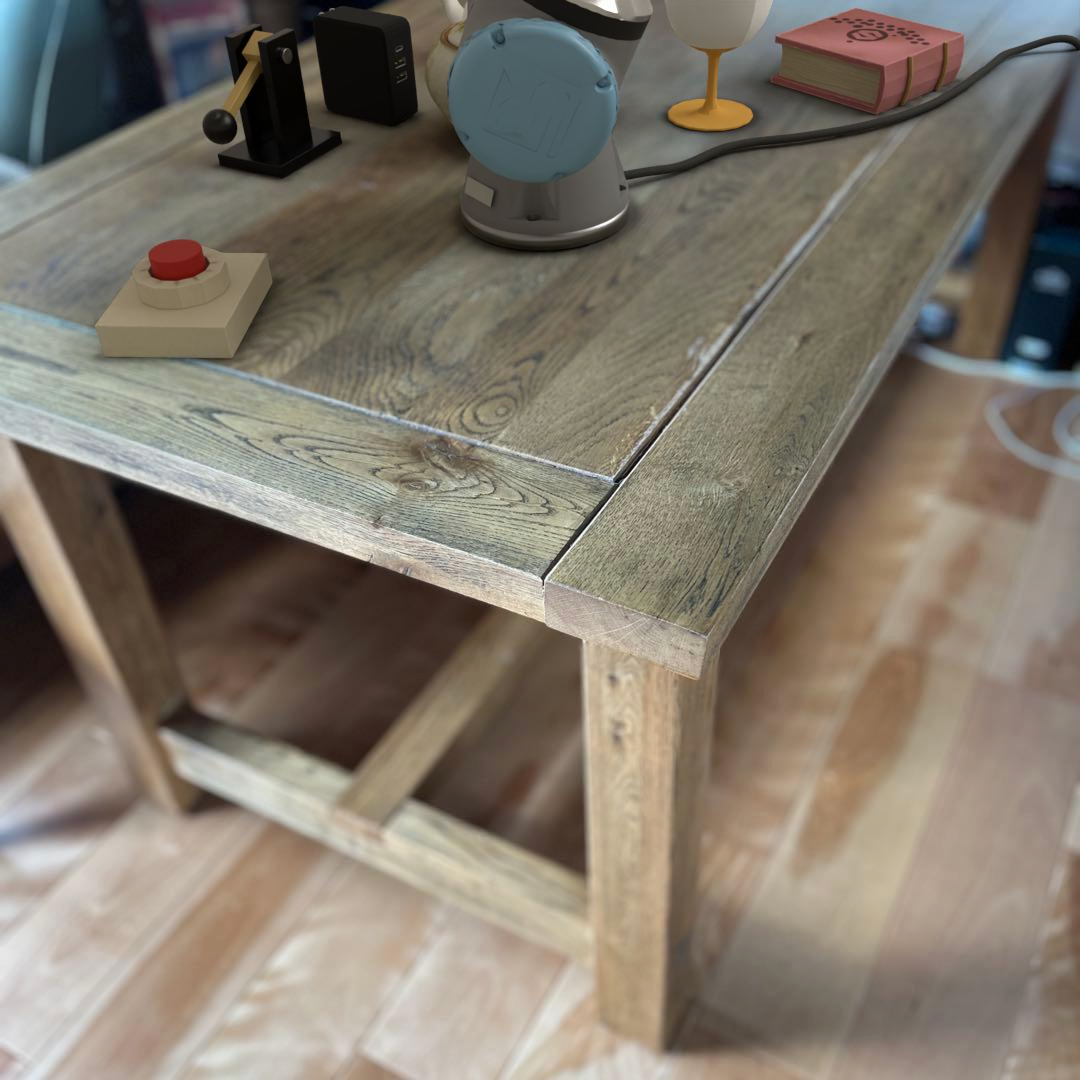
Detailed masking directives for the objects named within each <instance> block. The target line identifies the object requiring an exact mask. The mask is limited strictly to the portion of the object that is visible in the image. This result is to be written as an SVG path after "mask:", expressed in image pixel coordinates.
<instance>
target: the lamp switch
mask: <svg viewBox="0 0 1080 1080" xmlns="http://www.w3.org/2000/svg"><path fill="white" fill-rule="evenodd" d="M254 31H261V32H264V30H263V25H262V24H260V23H252V24H250V25H247V26H245V27H243V28H241V29H238V30H236V31H234V32H231V33H228V34H227V35H224V42H225V46H226V51H227V56H228V60H229V65H230V71H231V75H232V79H233V81H232V82H233V84H234V86H235V84H236V82H237V81H238V79H239V77H240V75H241V74H242V72H243V70H244V69H245V67H246V65H247V63H248V62H247V60H246V59H245V57H244V56H243V54H242V52H243V50H244V48H245V47H246V45H247V43H248V41H249V40H250V38H251V36H252V35H253V33H254ZM297 43H298V42H297V37H296V30H295V29H294V28H284V29H282V30H279V31H278V32H275V33H273V35H271V36H269V37H266V38H264V39H262V40H260V41H258V47H259V53H260V58H261V63H262V69H263V73H260V75H259V76H258V78H257V80H256V82H255V83H254V85H253V87H252V89H251V90H250V92H249V94H248V95H247V97H246V99H245V101H244V102H243V104H242V106H241V108H240V109H239V115H240V119H241V124H242V129H243V134H244V137H245V138H244V139H243V140H241V141H239V142H237V143H235V144H233V145H231V146H230V147H227V148H226V149H224V150H221V151H220V152H218V153H217V159H218V163H219V166H221V167H224V168H225V167H226V168H230V169H234V170H239V171H244V172H249V173H252V174H253V173H254V174H258V175H263V176H269V177H273V178H278V179H285V178H286V177H288V176H290V175H291V174H293V173H295V172H296V171H298V170H299V169H301V168H302V167H304V166H307V165H308V164H310V163H311V162H312V161H314V160H316V159H318V158H320V157H321V156H323V155H325V154H326V153H329V151H331V150H334V149H335V148H337V147H338V146H340V145H341V144H343V140H342V133H341V131H339V130H333V129H327V128H322V127H316V126H311V122H310V116H309V109H308V104H307V97H306V91H305V85H304V79H303V73H302V66H301V62H300V55H299V50H298V49H299V48H298V44H297ZM234 86H233V87H234Z"/></svg>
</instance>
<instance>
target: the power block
mask: <svg viewBox="0 0 1080 1080" xmlns="http://www.w3.org/2000/svg"><path fill="white" fill-rule="evenodd" d="M201 247H202V251H203V255H204V259H205V263H206V270H205V271H204V272H202V273H200V274H198V275H196V276H194V277H191V278H187V279H183V280H178V281H161V280H158V279H156V278H155V277H154V275H153V271H152V268H151V264H150V261H149V257H148V253H147V254H146V256H145V257H144V258H143V259H140V261H139V262H138V263H137V264H136V266H135V267H134V269H133V270H132V271H131V275H130V277H129V279H127V281H126V282H125V283H124V285H123V286H122V288H121V289H120V291H119V292H118V293H117V294H116V296H115V297H114V299H113V300H112V301H111V303H110V304H109V305H108V307H107V309H105V311H104V312H103V314H102V315H101V316H100V318H99V319H98V321H97V322H96V323H95V325H94V329H95V332H96V335H97V339H98V341H99V344H100V347H101V349H102V353H103V356H104V357H105V358H106V357H107V358H169V359H171V358H173V359H174V358H176V359H178V358H179V359H183V358H184V359H233V358H234V356H235V354H236V353H237V350H238V348H239V347H240V345H241V343H242V341H243V340H244V337H245V335H246V333H247V331H248V330H249V328H250V326H251V324H252V322H253V320H254V319H255V317H256V315H257V313H258V311H259V309H260V307H261V305H262V304H263V302H264V300H265V298H266V296H267V294H268V292H269V290H270V288H271V287H272V285H273V278H272V271H271V267H270V262H269V257H268V253H267V252H221V251H219V250H216V249H213V248H210V247H207V246H201Z"/></svg>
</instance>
